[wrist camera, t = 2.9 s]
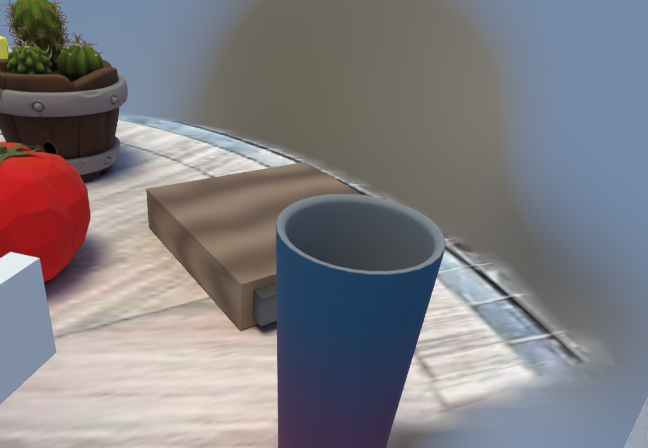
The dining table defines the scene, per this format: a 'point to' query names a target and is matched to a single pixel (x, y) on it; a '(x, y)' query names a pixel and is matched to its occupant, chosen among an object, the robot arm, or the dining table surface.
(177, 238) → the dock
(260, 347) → the dining table surface
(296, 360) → the cup
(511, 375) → the dining table surface
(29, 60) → the flowerpot
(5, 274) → the robot arm
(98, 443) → the dining table surface
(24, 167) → the tomato
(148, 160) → the dining table surface
